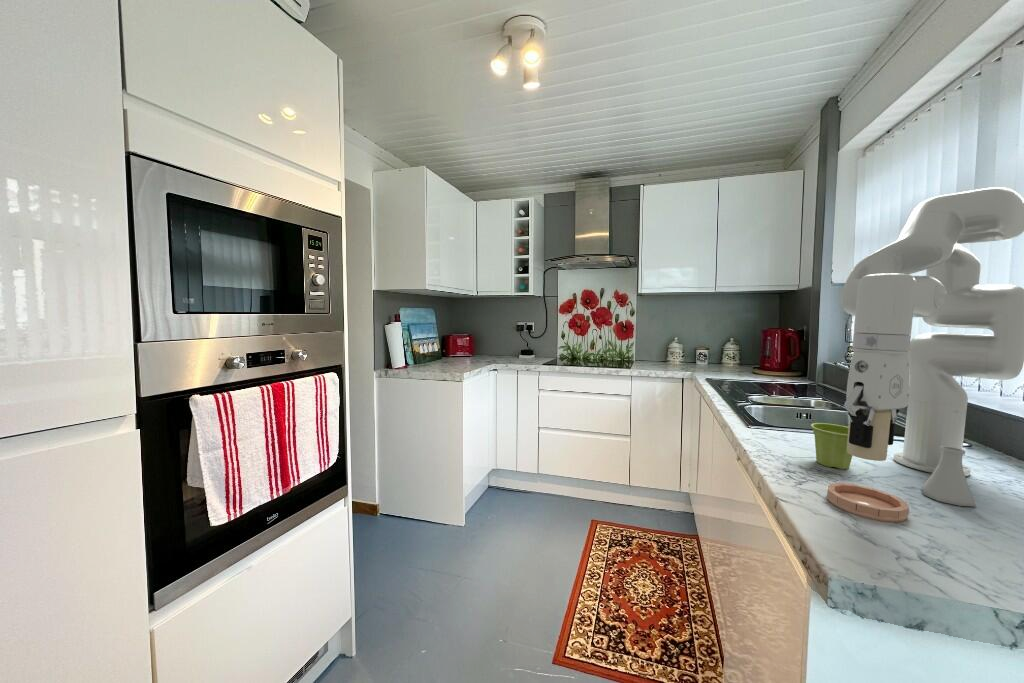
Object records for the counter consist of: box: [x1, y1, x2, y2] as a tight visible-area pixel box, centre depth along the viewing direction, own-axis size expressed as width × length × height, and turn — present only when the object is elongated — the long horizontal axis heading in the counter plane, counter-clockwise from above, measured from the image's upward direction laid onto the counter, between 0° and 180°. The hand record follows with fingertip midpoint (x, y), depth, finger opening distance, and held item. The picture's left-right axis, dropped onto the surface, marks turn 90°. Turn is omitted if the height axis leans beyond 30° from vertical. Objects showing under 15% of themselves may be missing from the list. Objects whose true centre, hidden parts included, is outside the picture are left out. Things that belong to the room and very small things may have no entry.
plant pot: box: [810, 422, 853, 470], centre depth 95 cm, size 9×9×9 cm
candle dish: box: [826, 482, 910, 523], centre depth 74 cm, size 11×11×2 cm
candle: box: [847, 403, 891, 462], centre depth 73 cm, size 6×6×10 cm
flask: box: [920, 446, 977, 507], centre depth 78 cm, size 7×7×10 cm
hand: (870, 443), depth 73 cm, fingers closed on candle, 5 cm apart
